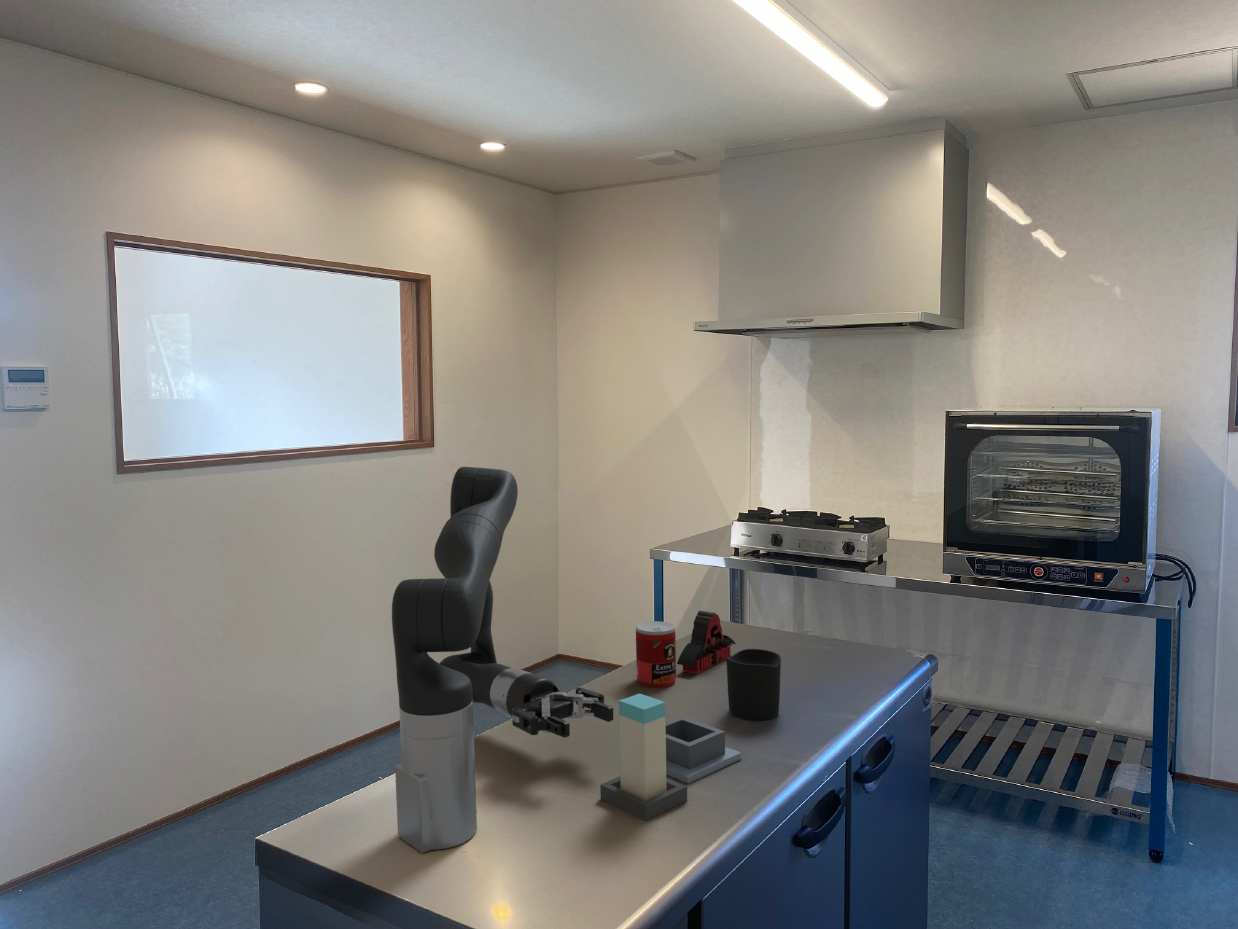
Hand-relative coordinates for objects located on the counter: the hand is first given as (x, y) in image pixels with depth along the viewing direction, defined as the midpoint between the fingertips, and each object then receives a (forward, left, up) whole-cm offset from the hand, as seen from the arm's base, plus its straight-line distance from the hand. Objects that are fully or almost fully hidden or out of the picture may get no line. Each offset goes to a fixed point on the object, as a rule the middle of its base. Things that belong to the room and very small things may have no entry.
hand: (590, 722), depth 130 cm
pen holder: (+37, -1, -8) cm, 38 cm away
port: (+14, -6, -8) cm, 17 cm away
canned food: (+37, +23, -8) cm, 44 cm away
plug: (0, -11, -8) cm, 14 cm away
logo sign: (+52, +23, -8) cm, 57 cm away
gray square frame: (0, -11, -8) cm, 14 cm away
